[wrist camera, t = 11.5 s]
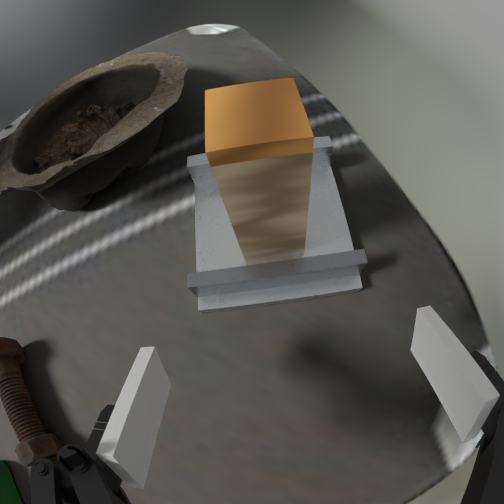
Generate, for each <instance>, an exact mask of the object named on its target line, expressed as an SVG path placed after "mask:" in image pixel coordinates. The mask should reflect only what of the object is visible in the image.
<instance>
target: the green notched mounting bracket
mask: <svg viewBox="0 0 504 504" xmlns="http://www.w3.org/2000/svg"><path fill="white" fill-rule="evenodd" d="M0 504H23V503H22V501H21V498H20V496H19V494H18V491H17V489H16V486H15V484H14V481H13V478H12V476H11V473H10V470H9V468H8V466H7V465H6V464H5V463H4V462H2V461H0Z"/></svg>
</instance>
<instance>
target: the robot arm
mask: <svg viewBox="0 0 504 504" xmlns="http://www.w3.org/2000/svg"><path fill="white" fill-rule="evenodd" d="M411 352H412V353H413V355H414V357H415V358H416V360H417V362H418V363H419V365H420V367H421V368H422V370H423V372H424V373H425V375H426V377H427V379H428V380H429V382H430V384H431V386H432V387H433V389H434V391H435V393H436V394H437V396H438V398H439V400H440V402H441V403H442V405H443V407H444V409H445V411H446V413H447V414H448V416H449V418H450V420H451V422H452V424H453V426H454V428H455V430H456V432H457V434H458V436H459V437H460V439H461V441H462V443H464V442H466V441H468V440H470V439H472V438H474V437H476V436H477V434H478V433H479V431H480V430H481V429H482V431H483V432H484V435H483V436H482V438H481V439H480V441H479V442H478V444H477V446H476V448H478V447H479V445H480V447H479V451H478V455H477V458H476V461H475V464H474V468H473V471H472V474H471V477H470V480H469V483H468V485H467V489H466V491H465V494H464V496H463V499H462V501H461V504H504V381H503V379H502V378H501V377H500V375H499V374H498V373H497V371H495V369H494V368H493V366H492V365H490V362H489V361H488V360H487V359H486V357H485V356H483V355H482V354H480V353H479V352H477V351H475V352H472V353H469V352H468V351H467V350H466V349H465V347H464V346H463V345H462V343H461V342H460V341H459V340H458V338H457V337H456V336H455V335H454V334H453V332H452V331H451V330H450V329H449V327H448V326H447V325H446V324H445V323H444V321H443V320H442V319H441V318H440V317H439V315H438V314H437V313H436V312H435V311H434V310H433V308H432V307H431V306H426V307H422V308H417V315H416V322H415V328H414V334H413V340H412V346H411ZM170 388H171V383H170V381H169V379H168V376H167V374H166V372H165V370H164V367H163V365H162V363H161V361H160V358H159V356H158V354H157V351H156V349H155V347H141V349H140V351H139V353H138V355H137V357H136V360H135V362H134V364H133V366H132V368H131V371H130V373H129V375H128V377H127V380H126V382H125V384H124V386H123V389H122V391H121V393H120V396H119V398H118V400H117V403H116V405H107V406H106V407H105V408H104V409H103V410H102V411H101V413H100V415H99V417H98V419H97V423H96V424H95V426H94V430H93V431H92V433H91V435H90V438H89V440H88V442H87V445H86V447H85V450H83V449H82V447H81V446H79V445H77V444H73V443H70V444H67V445H65V446H63V447H62V448H61V449H60V450H59V451H58V454H57V462H58V463H59V464H58V465H54V464H53V463H52V462H51V461H50V460H48V459H46V458H41V459H39V460H37V461H36V462H34V464H33V465H32V468H31V504H131V503H130V501H129V499H128V498H127V496H126V494H125V492H124V491H123V489H122V488H121V487H120V485H121V482H122V481H123V482H124V483H125V484H126V485H127V486H131V487H137V488H144V486H145V481H146V477H147V473H148V469H149V465H150V461H151V458H152V454H153V450H154V446H155V442H156V438H157V435H158V431H159V427H160V423H161V420H162V416H163V413H164V409H165V405H166V402H167V398H168V395H169V391H170Z"/></svg>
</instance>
